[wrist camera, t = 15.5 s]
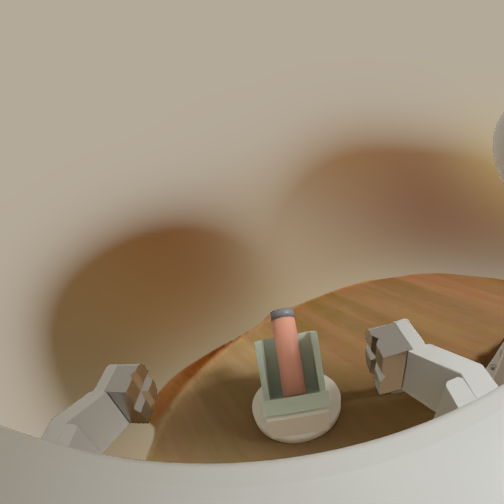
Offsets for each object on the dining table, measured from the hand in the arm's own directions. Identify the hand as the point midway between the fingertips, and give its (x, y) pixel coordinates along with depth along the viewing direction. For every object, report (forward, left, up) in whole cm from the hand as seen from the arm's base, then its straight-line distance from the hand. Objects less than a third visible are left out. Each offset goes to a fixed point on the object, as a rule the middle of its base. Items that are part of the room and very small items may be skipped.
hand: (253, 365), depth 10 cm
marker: (-12, -14, -24) cm, 30 cm away
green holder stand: (-13, -15, -29) cm, 35 cm away
